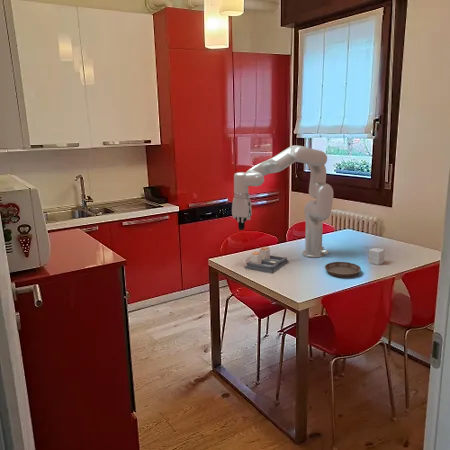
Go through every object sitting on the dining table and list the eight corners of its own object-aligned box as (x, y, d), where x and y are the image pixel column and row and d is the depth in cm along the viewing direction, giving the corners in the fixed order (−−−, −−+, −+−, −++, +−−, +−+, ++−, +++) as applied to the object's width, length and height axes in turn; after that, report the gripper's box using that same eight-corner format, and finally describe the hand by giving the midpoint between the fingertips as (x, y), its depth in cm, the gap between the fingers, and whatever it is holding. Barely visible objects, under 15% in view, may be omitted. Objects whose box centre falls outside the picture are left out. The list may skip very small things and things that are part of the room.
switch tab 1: (261, 263, 233) (261, 252, 232) (257, 266, 230) (257, 254, 228) (255, 262, 235) (254, 251, 234) (250, 264, 232) (250, 253, 230)
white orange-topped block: (270, 258, 241) (269, 247, 240) (266, 260, 238) (266, 249, 236) (263, 257, 244) (263, 246, 242) (259, 259, 240) (259, 248, 238)
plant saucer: (361, 280, 210) (361, 274, 209) (323, 277, 215) (323, 272, 214) (360, 268, 226) (360, 262, 226) (325, 266, 231) (325, 260, 230)
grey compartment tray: (288, 262, 239) (288, 257, 238) (272, 273, 222) (271, 267, 222) (262, 258, 247) (262, 253, 246) (245, 268, 231) (245, 263, 230)
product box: (384, 262, 233) (385, 249, 231) (378, 265, 229) (379, 252, 227) (374, 260, 237) (374, 247, 236) (368, 262, 233) (368, 249, 232)
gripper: (257, 195, 227) (257, 229, 232) (233, 193, 235) (233, 226, 240) (250, 198, 221) (250, 232, 226) (225, 195, 229) (226, 229, 234)
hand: (241, 229), depth 233 cm, fingers closed
